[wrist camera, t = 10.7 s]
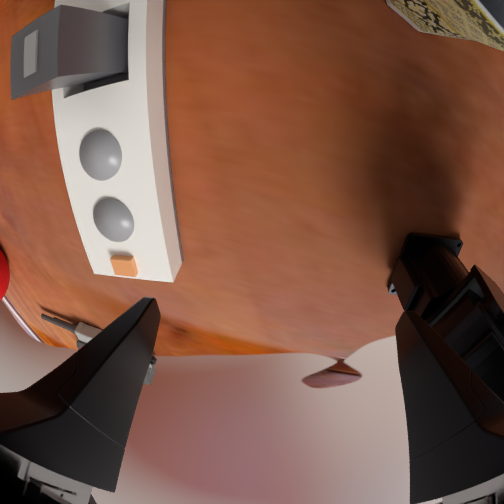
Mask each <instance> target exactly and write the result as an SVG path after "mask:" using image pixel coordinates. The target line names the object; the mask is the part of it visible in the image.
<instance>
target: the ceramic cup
mask: <svg viewBox="0 0 504 504" xmlns="http://www.w3.org/2000/svg"><path fill="white" fill-rule="evenodd" d="M386 3H387V5H388V6H389V7H390V8H392V9H393V10H394V11H395V12H396V13H398V14H399V15H400V16H401V17H402V18H403V19H405V20H406V21H407V22H408V23H409V24H410V25H411V26H412V27H413V28H415V29H416V30H417V31H419V32H425V33H431V34H436V35H442V36H447V37H453V38H460V39H466V40H471V41H476V42H480V43H483V44H485V45H488V46H490V47H493V48H496V49H498V50H501V51H504V0H386Z"/></svg>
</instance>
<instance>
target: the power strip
mask: <svg viewBox="0 0 504 504" xmlns="http://www.w3.org/2000/svg"><path fill="white" fill-rule="evenodd" d="M59 5H67V6H73V7H79V8H84V9H89V10H94V11H98V12H102V13H106V14H110V15H114V16H118V17H121V18H125V19H128V20H129V28H128V71H129V73H127V74H123V75H119V76H115V77H111V78H108V79H104V80H100V81H97V82H94V83H88V84H81V85H75V86H69V87H63V88H58V89H53V90H52V98H53V110H54V119H55V127H56V134H57V141H58V147H59V153H60V158H61V163H62V168H63V173H64V177H65V182H66V186H67V190H68V194H69V198H70V202H71V206H72V209H73V213H74V216H75V220H76V223H77V226H78V229H79V233H80V236H81V239H82V242H83V245H84V248H85V250H86V253H87V256H88V259H89V261H90V264H91V267H92V269H93V272H94V274H101V275H109V276H117V277H126V278H135V279H144V280H154V281H164V282H174V280H175V278H176V275H177V273H178V271H179V269H180V267H181V265H182V262H183V260H184V259H183V253H182V247H181V240H180V234H179V227H178V220H177V212H176V205H175V196H174V188H173V179H172V170H171V159H170V148H169V136H168V122H167V104H166V80H165V18H166V0H55V5H54V8H55V7H57V6H59Z"/></svg>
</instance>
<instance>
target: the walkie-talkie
mask: <svg viewBox="0 0 504 504" xmlns="http://www.w3.org/2000/svg"><path fill="white" fill-rule="evenodd" d="M41 317H42V319H44V320H46V321H49V322H51V323H53V324H55V325H58V326H60V327H62V328H65V329H67V330H70V331H71V332H72V333H75V334H76V335H77V337H78V341H77V347H78V349H80V348H81V347H83V346H84V345H85V344H86V343H88V342H89V341H90V340H91V339H92V338H94V337H95V336H96V335H97V334H98V333H100V332H101V331H102V330H101V329H98V328H95V327H92V326H89V325H86V324H85V323H83V322H79V324H78V325H76V324H70V323H68V322H65V321H63V320H60V319H58V318H55V317H54V318H52V317H49V316H47V315H45V314H42V315H41ZM156 360H157V359H156V358H155V357H154V356H152V358H151V361H150V364H149V367H148V370H147V374H146V377H145V380H144V383H145V384H149V385H151V382H152V379H153V376H154V373H155V368H154V364H155V363H156Z"/></svg>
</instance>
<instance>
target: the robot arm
mask: <svg viewBox="0 0 504 504" xmlns="http://www.w3.org/2000/svg"><path fill="white" fill-rule="evenodd" d="M412 238H413V240H411V239H412ZM410 240H411V241H410ZM462 245H463V242H462V240H461V239H460V238H455V237H446V236H437V235H429V234H419V233H410V234H408V235H407V237H406V240H405V243H404V246H403V249H402V252H401V255H400V256H399V258H398V260H397V263H396V266H395V269H394V271H393V274H392V276H391V281H390V284H389V286H388V291H389V293H390V294H394V295H398V297H399V300H400V302H401V305H402V307H403V309H404V312H403V313H402V315H401V317H400V319H399V321H398V323H397V325H396V329H395V332H396V341H397V351H398V363H399V371H400V376H401V383H402V389H403V395H404V403H405V410H406V418H407V429H408V441H409V457H410V504H417V503H421V502H426V501H430V500H434V499H438V498H441V497H442V499H443V501H442V502H439V503H437V504H504V294H503V292H502V291H501V290H500V288H499V287H498V285H497V284H496V283H495V282H494V281H493V280H492V279H491V278H490V277H489V276H487V275H486V274H485V273H484V272H483V271H482V270H481V269H480V268H479V267H477V266H476V265H474V266H473V267H472V268H471V269H470V270H471V271H470V272H468V270H467V269H466V268H465V266H464V265H463V263H462V262H461V261H460V259H459V258H458V255H459V252H460V250H461V248H462ZM392 289H393V290H392ZM160 317H161V315H160V311H159V308H158V304H157V301H156V299H155V298H152V297H143V298H142V299H141V300H139V301H138V302H137V303H136V304H134V305H133V306H132V307H131V308H129V309H128V310H127V311H126V312H124V313H123V314H122V315H121V316H119V317H118V318H117V319H116V320H114V321H113V322H112V323H111V324H109V325H108V326H107V327H106V328H105V329H103V330H102V331H101V332H100V333H98V334H97V335H96V336H95V337H94V338H92V339H91V340H90V341H89V342H88V343H86V344H85V345H84V346H83V347H81V348H80V349H79V350H78V351H77V352H76V353H74V354H73V355H72V356H71V357H70V358H68V359H67V360H66V361H65V362H63V363H62V364H61V365H60V366H58V367H57V368H55V369H54V370H53V371H52V372H50V373H49V374H47V375H46V376H44V377H43V378H41V379H40V380H39V381H37V382H36V383H34V384H33V385H31V386H30V387H28V388H27V389H25V390H22V391H19V392H12V393H11V392H10V393H0V504H96V502H95V500H94V498H93V497H92V495H91V491H92V487H96V488H99V489H103V490H106V491H110V492H115V489H116V485H117V480H118V476H119V471H120V467H121V462H122V458H123V455H124V451H125V449H124V448H125V446H126V442H127V439H128V435H129V431H130V427H131V424H132V420H133V417H134V413H135V410H136V406H137V403H138V399H139V396H140V393H141V389H142V386H143V383H144V380H145V377H146V374H147V370H148V367H149V364H150V361H151V358H152V355H153V350H154V346H155V341H156V336H157V332H158V327H159V323H160Z"/></svg>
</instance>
